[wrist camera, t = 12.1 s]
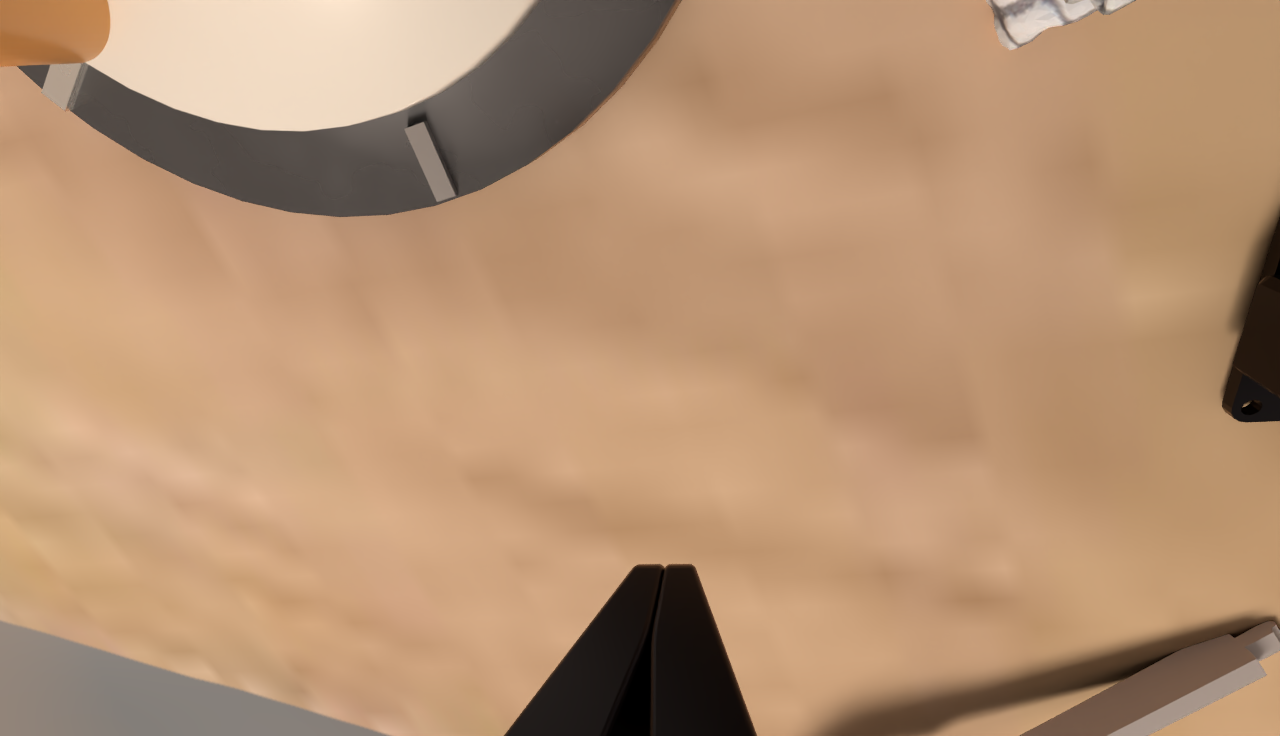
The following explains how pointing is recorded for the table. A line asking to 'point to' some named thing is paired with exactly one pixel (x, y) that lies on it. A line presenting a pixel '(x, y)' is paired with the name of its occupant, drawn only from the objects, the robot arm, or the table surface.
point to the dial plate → (392, 120)
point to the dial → (268, 52)
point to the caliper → (1170, 687)
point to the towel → (1042, 16)
